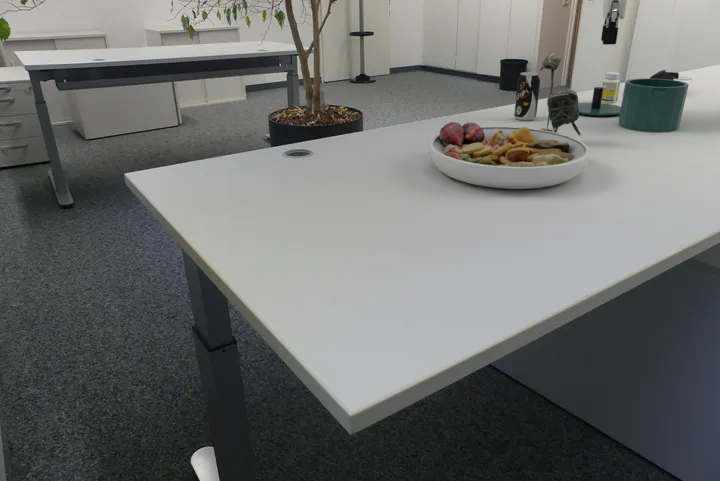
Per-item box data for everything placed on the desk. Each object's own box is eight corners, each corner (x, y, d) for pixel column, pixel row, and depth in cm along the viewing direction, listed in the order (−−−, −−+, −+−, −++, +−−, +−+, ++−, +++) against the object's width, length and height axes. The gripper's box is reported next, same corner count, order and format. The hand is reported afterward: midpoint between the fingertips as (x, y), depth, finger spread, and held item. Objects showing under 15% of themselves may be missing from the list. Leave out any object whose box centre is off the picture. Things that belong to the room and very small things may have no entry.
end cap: (651, 90, 181) (655, 69, 178) (675, 92, 177) (679, 70, 174) (644, 95, 174) (648, 73, 171) (669, 97, 170) (674, 74, 167)
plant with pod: (572, 150, 120) (586, 54, 111) (522, 143, 126) (531, 51, 117) (582, 141, 126) (596, 50, 118) (533, 135, 132) (543, 48, 123)
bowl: (602, 160, 112) (608, 122, 109) (559, 207, 90) (566, 161, 87) (466, 142, 128) (468, 108, 124) (401, 177, 105) (401, 137, 102)
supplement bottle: (608, 99, 169) (613, 71, 166) (620, 102, 165) (625, 73, 162) (596, 101, 168) (600, 72, 164) (607, 103, 164) (612, 74, 160)
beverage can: (509, 119, 148) (513, 73, 143) (521, 115, 152) (526, 70, 146) (527, 122, 144) (533, 75, 139) (540, 118, 148) (545, 72, 143)
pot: (672, 118, 144) (681, 77, 140) (684, 136, 128) (694, 90, 124) (616, 116, 149) (623, 76, 144) (620, 132, 132) (628, 88, 128)
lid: (622, 107, 158) (626, 84, 155) (625, 118, 145) (630, 93, 143) (567, 105, 163) (570, 82, 160) (566, 116, 150) (570, 91, 147)
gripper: (637, -30, 131) (626, 45, 138) (631, -29, 146) (621, 39, 153) (603, -29, 133) (594, 46, 141) (601, -28, 148) (592, 39, 155)
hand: (608, 42), depth 147 cm, fingers open, 9 cm apart
